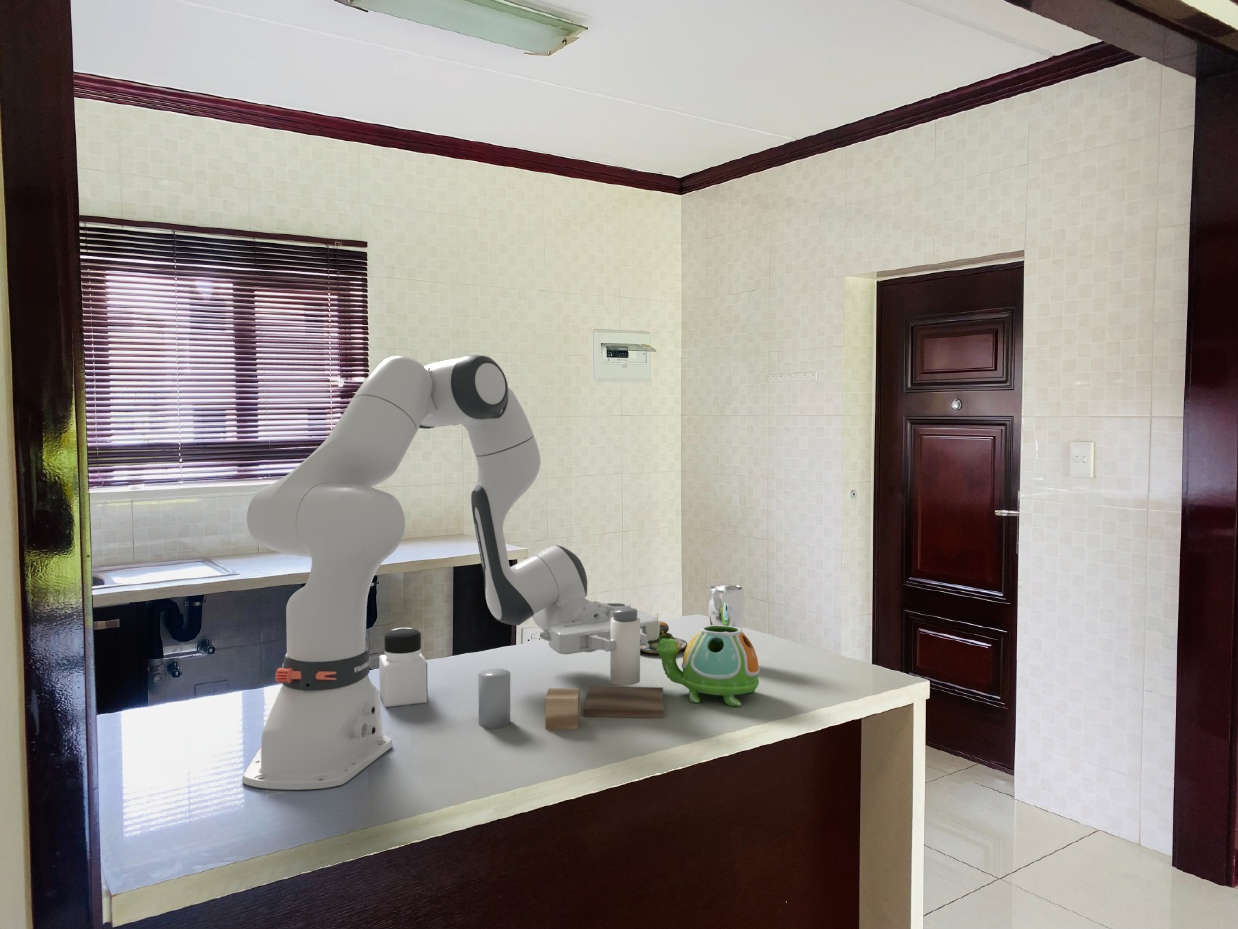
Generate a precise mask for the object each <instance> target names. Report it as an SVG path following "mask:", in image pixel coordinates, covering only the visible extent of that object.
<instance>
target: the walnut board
mask: <svg viewBox="0 0 1238 929" xmlns="http://www.w3.org/2000/svg"><path fill="white" fill-rule="evenodd" d="M587 688H588V689H587V693H586V697H585V701H584V706H583V714H582V715H583V717H593V718H594V717H598V718H599V717H602V718H603V717H604V718H605V717H606V718H649V719H650V718H654V719H655V718H658V719H660V718H661V719H663V718H664V715H665V714H664V712H665V710H664V687H658V686H657V687H653V686H601V685H600V686H598V685H596V686H594V685H593V686H592V685H591V686H588V687H587Z"/></svg>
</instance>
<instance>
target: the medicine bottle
mask: <svg viewBox="0 0 1238 929" xmlns="http://www.w3.org/2000/svg"><path fill="white" fill-rule="evenodd" d="M421 634H422V633H421V632H420V630H418V629H416V628H413V627H398V628H393V629H391V630H389V631H386V633H385V634H384V635H383V636H384V654H380V655H379V658H378V662H379V664H378V666H379V667H378V668H379V669H378V670H379V677H378V678H379V694H380V699H381V700H382V703H383V705H384V707H385V708H391V707H401V706H409V705H416V704H417V705H418V704H425V703H426V704H427V702H428V699H429V698H428V661H427V660H426V658H425V656H423V654H422V635H421Z"/></svg>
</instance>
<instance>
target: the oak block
mask: <svg viewBox="0 0 1238 929" xmlns="http://www.w3.org/2000/svg"><path fill="white" fill-rule="evenodd" d="M547 689H548V690H547V693H546V696H545V700H544V701H545V704H544V707H545V708H544V709H545V714H544V715H545V716H544V717H545V718H544V720H545V722H544V723H545V728H544V729H545V730H566V731H568V730H573V731H575V730H579V729H578V728H579V723H580V719H581V718H580V717H581V716H580V715H581V714H580V713H581V707H580V706H581V704H580V703H581V694H580V693H581V688H559V687H557V688H553V687H552V688H550V687H549V688H547Z"/></svg>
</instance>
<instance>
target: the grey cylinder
mask: <svg viewBox="0 0 1238 929" xmlns="http://www.w3.org/2000/svg"><path fill="white" fill-rule="evenodd" d="M477 676H478V679H477V680H478V691H477V692H478V725H479V726H480V727H481V728H486V729H499V728H504V727H507V726H508V725H510V724H511V671H509V670H508V669H504V668H489V669H484V670H481V671H479V672H478V675H477Z"/></svg>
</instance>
